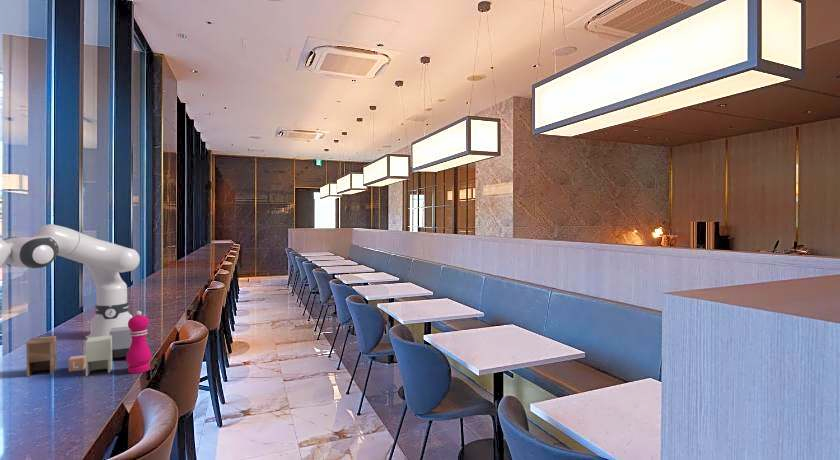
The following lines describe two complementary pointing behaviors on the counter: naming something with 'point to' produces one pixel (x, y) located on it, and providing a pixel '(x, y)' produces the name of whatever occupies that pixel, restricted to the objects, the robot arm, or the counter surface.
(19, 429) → the counter surface
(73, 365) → the letter cube
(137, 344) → the pepper mill
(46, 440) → the counter surface
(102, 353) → the cover
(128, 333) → the cover
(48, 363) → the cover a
